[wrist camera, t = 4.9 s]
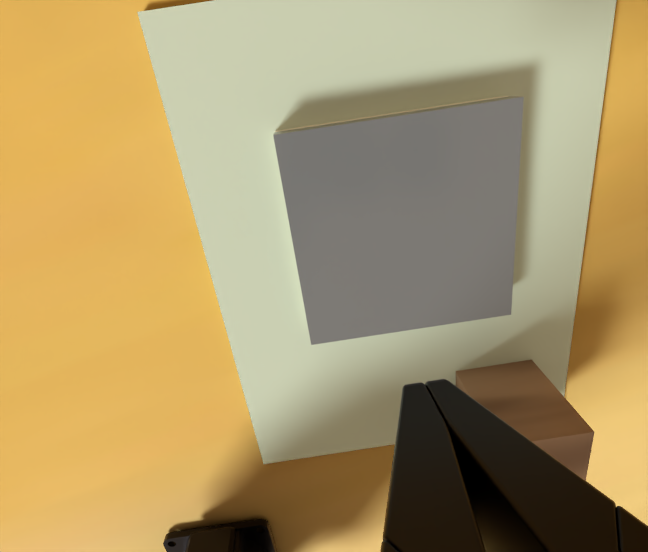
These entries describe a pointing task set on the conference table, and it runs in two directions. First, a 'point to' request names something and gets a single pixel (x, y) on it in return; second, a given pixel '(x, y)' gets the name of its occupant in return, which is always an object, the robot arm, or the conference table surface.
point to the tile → (404, 216)
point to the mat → (362, 101)
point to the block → (532, 409)
